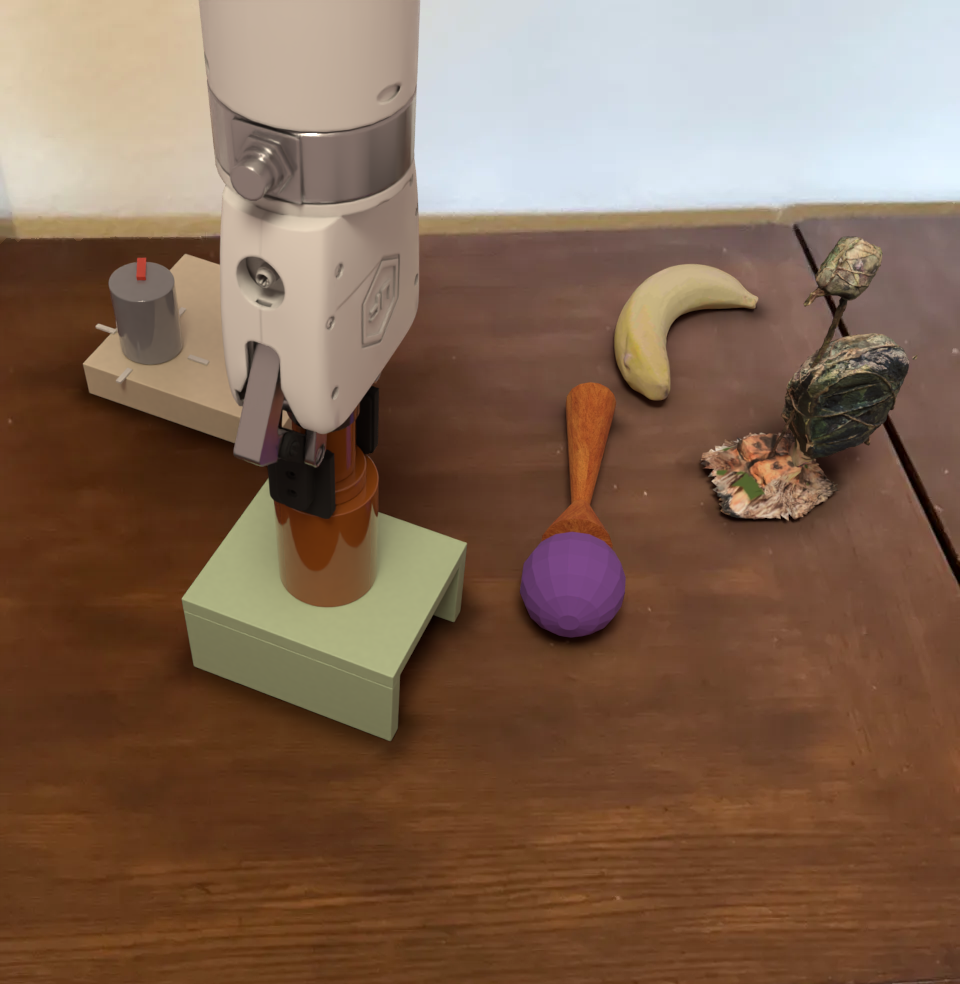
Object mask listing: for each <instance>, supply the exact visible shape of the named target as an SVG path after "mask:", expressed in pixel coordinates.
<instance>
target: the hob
mask: <svg viewBox="0 0 960 984" xmlns="http://www.w3.org/2000/svg"><path fill="white" fill-rule="evenodd" d="M168 270H169V271H170V272H171V273H172V274H173V276H174V280H175V287H176V294H177V301H178V308H179V315H180V322H181V329H182V336H183V347H182V349H181V351H180V353H179V354H178V355H177V356H176V357H174V358H173V359H171V360H169V361H167V362H164V363H160V364H152V365H147V364H140V363H136V362H134V361H132V360H130V359H128V358H127V357H126V356H125V355H124V354H123V352H122V351H121V347H120V342H119V337H118V332H117V327H115V328H113V327H110V326H107V325H105V324H101V323H96V325H95V326H94V327H95V329H97V330H99V331H102V332H105V333H108V334H109V335H108V336H107V337H106V338H105V339H104V340H103V341H102V342H101V343H100V345H99V346H97V348H96V349H95V350H94V351H93V352H92V353H91V354H90V355H89V356H88V357H87V358H86V360H85V361H84V362H83V363H82V367H83V371H84V375H85V380H86V384H87V388H88V393H89V394H91V395H94V396H97V397H101V398H102V399H105V400H109V401H111V402H114V403H117V404H120V405H123V406H125V407H129V408H131V409H135V410H137V411H140V412H143V413H146V414H149V415H151V416H155V417H158V418H160V419H163V420H167V421H168V422H172V423H175V424H177V425H181V426H183V427H187V428H190V429H192V430H195V431H198V432H200V433H204V434H207V435H209V436H213V437H216V438H218V439H220V440H221V439H222V440H224V441H227V442H230V443H232V444H235V441H236V436H237V431H238V427H239V422H240V417H241V412H242V408H243V406H239V405H238V404H237V403H236V401H235V399H234V397H233V395H232V393H231V389H230V386H229V382H228V377H227V371H226V365H225V357H224V347H223V336H222V321H221V300H220V263H216V262H212V261H209V260H206V259H203V258H200V257H197V256H193V255H191V254H188V253H184V254H183V256H181V258H179V260H178V261H177V262H175V264H174V265H173V266H172V267H171V268H170V269H168ZM282 427H284V428H287V429H290V430H292V429H291V419H290V418H289V416H288V414H287V412H286V411H284V410H283V414H282Z"/></svg>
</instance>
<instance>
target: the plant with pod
mask: <svg viewBox="0 0 960 984" xmlns="http://www.w3.org/2000/svg"><path fill="white" fill-rule="evenodd" d="M882 261H883V250H882V249H881V246H877V245H875V244H874V243H870V242H868V241H867V240H865V239H864V238H862V237H860V236H856V235H853V236H852V235H851V236H850V235H845V236H842V237H840V238H839V239H838V241H837V242H836V243H835V245H834V247H833V248H832V249H831V251H830V252H829V253H828V254H827V256H826V258H825V259H824V260H823V261H822V263H821V264H820V266H819V268H818V271H817V272H816V273H815V274H814V276H815V277H814V280H815V283H816V284H817V287H816V289H814V291H811V292H810V293H809V294H808V295H809V296H807V298H806V299H805V301H804V302H803V306H804V307H808V306H810V305H811V304H813V303H814V302H815V300H816V299H817V298H820V297H829V296H831V297H835V296H836V297H840V298H839V300H838V305H837V307H836V308H835V312H834V314H833V318H832V320H831V323H830V326H829V327H828V330H827V333H826V334H825V337H824V338H823V343H822V345H821V347H819V348H818V349H816V350H815V351H814V352H813V353H812V354H810V355H809V356H807V359H805V360H804V362H802V364H801V365H800V366H799V367H798V369H797V370H796V371H795V372H794V373H793V376H792V377H791V378H790V379H789V381H788V382H787V384H786V393H785V395H784V405H783V406H782V412H781V415H780V417H781V418H782V420H783V422H784V423H785V424H784V426H783V428H782V429H781V432H778V434H777V433H770V432H769V433H764V432H759V433H758V434H757V433H755V432H754V433H752V432H749V434H748V435H746V436H743V437H742V438H740V437H736V440H731V439H724V441H723V444H722V445H721V446H720V445H714V449H715V450H714V449H713V448H710V449H709V450H708V451H707V452H702V454H701V459H699V462H700V463H699V464H701V465H702V466H704V467H702V468H701V469H703V470H704V469H709V470H710V469H712V471H711V472H710V473H709V475H708V476H707V477H708V478H710V477H714V478H713V479H712V480H711V483H712V484H714V485H715V486H716V487H714V488H712V491H714V492H715V493H716V497H719V499H718V501H721V502H719V503H717V504H718V505H719V506H720V507H721V509H720V510H719V511H720V512H722V513H723V514H725V515H728V516H730V517H731V518H736V519H739V518H740V519H753V520H758V519H765V518H767V519H775V518H776V519H780V520H781V517H782V518H784V519H785V520H786V521H788V522H789V521H790V520H789V517H792V519H793V520H797V519H800V518H804V515H808V514H809V513H808V512H812V510H813V509H814V508H815V507H816V506H817V505H819V504H821V503H822V502H823V503H824V502H826V500H828V497H832V495H834V494H836V492H838V491H840V489H838V487H836V486H838V485H839V483H836V484H835V481H832V480H831V479H828V476H827V475H826V474H825V473H824V470H823V469H822V468H821V467H820V466H819V465H820V463H818V462H817V459H822V458H827V457H831V456H832V455H835V454H837V453H840V452H843V451H845V450H847V449H850V448H856V447H859V446H860V445H861V444H864V445H866V446H870V445H871V435H872V434H874V432H875V431H876V430H877V429H879V428H881V426H882V425H884V424H885V422H886V421H887V418H888V415H889V413H890V411H894V410H895V405H896V402H897V398H898V395H899V393H900V391H901V388H902V386H903V385H904V383H905V382H904V381H905V378H906V376H907V375H908V373H909V368H910V359H909V357H908V354H907V353H906V350H904V349H905V348H903V347H901V345H899V344H898V343H896V342H895V340H894V339H893V338H891V337H890V336H887V335H886V334H883V333H876V332H873V333H872V332H870V333H866V334H854V335H853V334H850V335H847V336H842V337H839V338H836V339H834V340H833V338H834V336H835V333H836V329H837V328H838V326H839V325H840V321H841V318H842V317H844V313H845V311H846V309H847V306H848V301H853V300H857V298H859V297H860V296H861V295H862V294H863V293H864V292H866V290H867V289H868V288H869V286H870V285H871V283H872V281H873V279H875V277H876V275H877V273H878V272H879V270H880V267H881V266H882ZM911 359H912V360H913V361H916V360H917V359H918V354H916V355H914V356H912V358H911ZM788 429H789V430H790V432H789V433H787V431H788ZM789 515H790V516H789Z"/></svg>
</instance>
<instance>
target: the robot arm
mask: <svg viewBox="0 0 960 984" xmlns="http://www.w3.org/2000/svg"><path fill="white" fill-rule="evenodd" d="M198 6H199V16H200V17H199V18H200V26H201V28H200V29H201V37H202V48H203V56H204V58H203V59H204V66H205V75H206V85H207V86H206V87H207V96H208V105H209V106H208V107H209V116H210V125H211V135H212V145H213V152H214V163H215V164H214V165H215V167H216V171H217V173H218V176H219V178H220V179H221V180H222V182H223V183H224V184H225V185H224V187H223V190H222V193H221V212H220V213H221V214H220V232H219V234H220V237H219V265H220V300H221V321H222V336H223V347H224V357H225V365H226V371H227V377H228V382H229V386H230V389H231V393H232V395H233V397H234V399H235V401H236V403H237V404H238V405H239V406H243V408H242V412H241V417H240V422H239V427H238V431H237V436H236V441H235V443H234V447H233V456H234V458H235V459H238V460H241V461H244V462H247V463H249V464H253V465H255V466H257V467H258V466H259V467H261V468H263V467H266V466H267V476H268V478H267V479H269V491H270V496H271V498H272V499H273V500H274V501H276V502H278V503H281V504H284V505H286V506H288V507H290V508H293V509H296V510H299V511H303V512H306V513H309V514H312V515H315V516H318V517H320V518H323V519H329V518H330V517H331V516H332V514H333V513H334V511H335V509H336V505H335V461H334V453H332V452H331V451H330V450H327V449H326V443H327V433H329V432H331V431H333V430H335V429H336V428H338V427H339V426H340V425H341V424H343V423H344V422H345V421H346V420H347V418H348V417H349V416H350V415H351V413H352V412H353V411H354V409H355V408H356V407H357V405H358V404H359V402H360V412H359V415H358V417H357V419H356V445H357V446H358V447H359V448H360V449H361V450H362V452H363V453H364V454H367V455H371V454H373V453H374V452H375V450H376V449H377V447H378V445H379V425H380V424H379V418H380V417H379V414H380V388H379V387H377V386H374V385H376V384H377V383H378V382H379V381H380V379H381V376H382V373H383V369H384V368H385V367H386V365H387V364H388V362H389V361H390V360H391V358H392V356H394V354H395V352H396V351H397V349H398V348H399V346H400V345H401V344H402V342H403V340H404V338H405V337H406V335H407V334H408V332H409V330H410V329H411V327H412V326H413V323H414V321H415V319H416V316H417V312H418V309H419V303H420V302H419V300H420V221H419V220H420V217H419V216H420V215H419V192H418V191H419V190H418V177H417V167H416V160H415V159H416V158H415V145H416V144H415V143H416V119H417V118H416V117H417V94H418V93H417V92H418V91H417V90H418V70H419V47H420V46H419V43H420V18H421V0H198ZM283 410H284V411H287V412H290V413H293V414H294V416H295V417H296V419H297V421H298V422H299V424H300V425H301V426H302V427H303V428H304V429H306V432H305V434H302V433H299V432H296V431H293V430H290V429H287V428H284V427H282V414H283Z"/></svg>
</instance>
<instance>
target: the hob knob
mask: <svg viewBox="0 0 960 984" xmlns="http://www.w3.org/2000/svg"><path fill="white" fill-rule="evenodd" d="M147 260H148V259H147V257H137V258H136V261H135V262H130V263H127V264H124V265H121V266H120V267H118V268H117V269H115V270H113V272H112V273H111V275H110V276H109V279H108V283H107V285H108V289H109V297H110V300H111V306H112V312H113V315H114V321H115V326H116V327H117V332H118V337H119V342H120V347H121V351H122V352H123V354H124V355H125V356H126V357H127V358H128V359H130V360H132V361H134V362H136V363H140V364H147V365H152V364H160V363H164V362H167V361H169V360H171V359H173V358H174V357H176V356H177V355H178V354H179V353H180V351H181V349H182V347H183V336H182V329H181V322H180V315H179V308H178V301H177V294H176V287H175V280H174V276H173V274H172V273H171V272H170V271H169V270H170V269H168V268H167V267H166V266H164V265H162V264H159V263H156V262H152V261H147ZM116 327H115V328H116Z"/></svg>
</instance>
